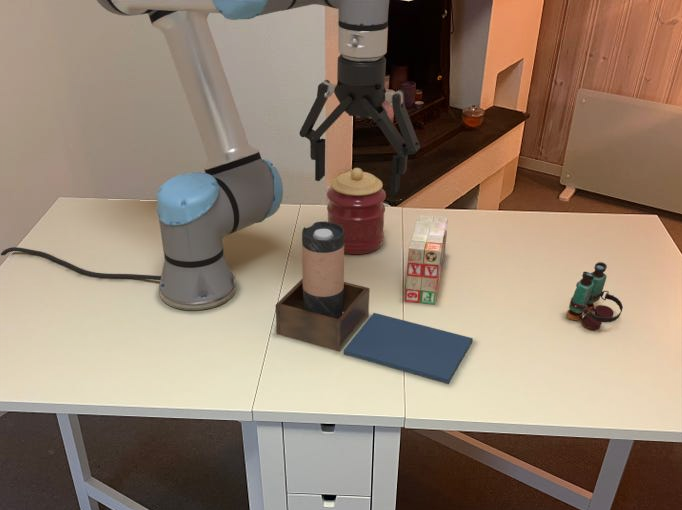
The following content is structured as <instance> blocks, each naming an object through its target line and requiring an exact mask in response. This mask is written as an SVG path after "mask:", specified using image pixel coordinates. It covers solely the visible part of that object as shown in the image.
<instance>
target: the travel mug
mask: <svg viewBox="0 0 682 510" xmlns="http://www.w3.org/2000/svg"><path fill="white" fill-rule="evenodd" d="M301 243H302V244H301V252H302V254H301V255H302V258H301V259H302V262H301V263H302V265H301V266H302V278H303V302H304V310H306V311H310V312H313V313H317V314H321V315H325V316H328V317H332V318H336V319H339V318H340V317H341V315H342V314H343V313H344V312H343V295H344V282H345V253H344V229H343V228H342V227H341V226H340V225H338V224H336V223H332V222H328V221H316V222H314V223H313V224H312V225H310V226H308V227H306V226H304V227H303V228H302V230H301Z"/></svg>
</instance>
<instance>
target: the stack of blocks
mask: <svg viewBox="0 0 682 510" xmlns="http://www.w3.org/2000/svg"><path fill="white" fill-rule="evenodd" d="M448 219H449V217H448V216H438V215H426V214H425V215H424V214H420V215H419V217H418V220H415V223H414V229H413V233H412V235H411V239H410V242H409V246H408V253H407V265H406V283H405V292H404V302H410V303H416V304H427V305H435V304H436V300H437V297H438V293H439V288H440V283H441V274H442V270H443V269H442V268H443V266H444V261H445V254H446V244H447V236H448Z"/></svg>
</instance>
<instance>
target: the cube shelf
mask: <svg viewBox="0 0 682 510" xmlns="http://www.w3.org/2000/svg"><path fill="white" fill-rule="evenodd" d="M370 290H371V289H370V287H367V286H363V285H359V284H355V283H350V282H346V281H344V295H343V314H342V315H341V317H340V318H339V319H336V318H332V317H328V316H325V315H321V314H317V313H313V312H310V311H306V310H304V302H303V277H302V278H301V279H299V281H298V282H297V283H296V284H295V285H294V286H293V287H292V288H291V289H290V290H289V291H288V292H287V293H286V294H285V295H284V296H283V297H282V298H281V299H280V300H279V301H278V302H277V303H276V304H275V324H276V335H279V336H283V337H286V338H290V339H293V340H297V341H300V342H304V343H308V344H311V345H314V346H318V347H322V348H325V349H329V350H332V351H336V352H341V351H342V350H344V348H345V346H347V345H348V343H349V342H350V341H351V340H352V339H353V337H354V336H355V335H356V334H357V332H358V331H359V330H360V329H361V327H362V326H363V325H364V324H365V322H366V321H367V320H368V319H369V316H370V315H369V311H370Z"/></svg>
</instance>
